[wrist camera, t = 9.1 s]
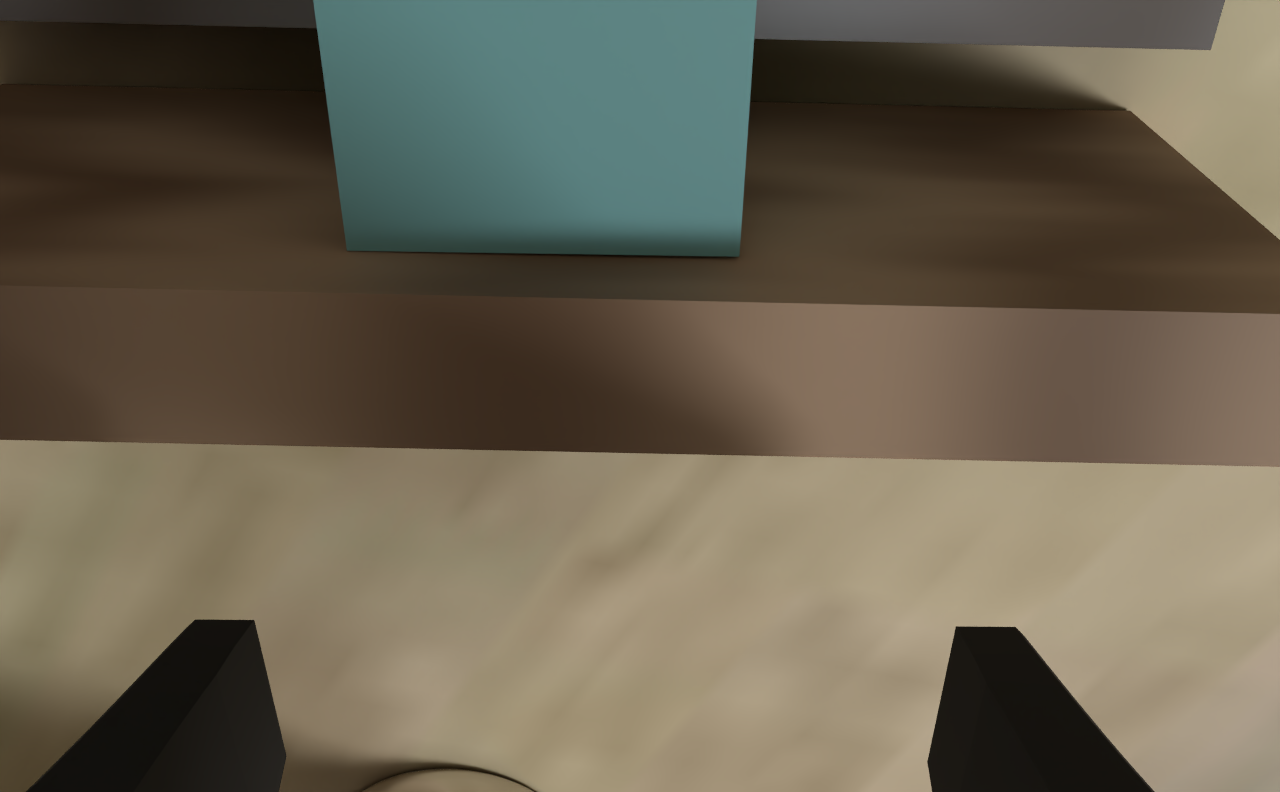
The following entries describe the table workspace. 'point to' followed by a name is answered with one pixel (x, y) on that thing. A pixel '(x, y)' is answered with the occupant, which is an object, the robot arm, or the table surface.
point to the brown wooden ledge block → (650, 277)
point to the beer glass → (447, 782)
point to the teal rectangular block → (539, 124)
